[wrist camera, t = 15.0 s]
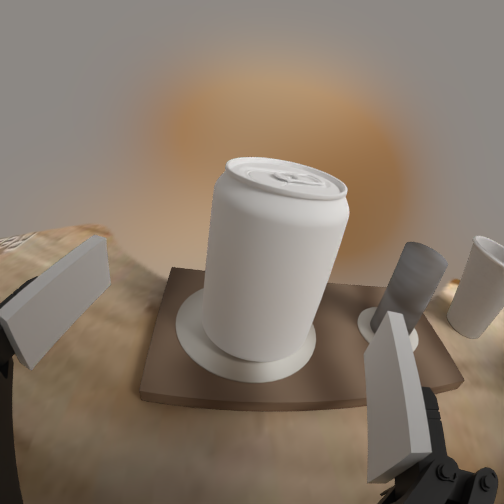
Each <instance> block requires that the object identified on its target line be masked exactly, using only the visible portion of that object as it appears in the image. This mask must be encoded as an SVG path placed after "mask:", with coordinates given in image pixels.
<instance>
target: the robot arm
mask: <svg viewBox="0 0 504 504" xmlns="http://www.w3.org/2000/svg"><path fill="white" fill-rule="evenodd" d="M110 285H111V280H110V272H109V264H108V254H107V243H106V238H104V237H101V236H98V235H93V236H92V237H90V238H89V239H87V240H86V241H85V242H83V243H82V244H80V245H79V246H78V247H76V248H75V249H74V250H72V251H71V252H70V253H68V254H67V255H65V256H64V257H63V258H62V259H60V260H59V261H58V262H56V263H55V264H54V265H52V266H51V267H50V268H49V269H47V270H46V271H45V272H43V273H42V274H41V275H40V276H37V277H34V278H32V279H30V280H28V281H26V282H25V283H24V284H23V285H22V286H20V288H19V289H17V290H16V291H14V292H13V294H11V295H10V296H9V297H7V298H6V299H5V300H4V301H3V302H2V303H0V504H23V500H22V495H21V490H20V485H19V479H18V473H17V466H16V458H15V449H14V437H13V418H12V384H13V364H14V363H13V359H12V356H13V355H14V354H16V356H17V358H18V360H19V362H20V363H21V364H23V365H24V366H25V367H27V368H28V369H29V370H32V369H33V368H34V367H35V366H36V365H37V363H38V362H39V361H40V360H41V359H42V358H43V356H44V355H45V354H46V353H47V352H48V351H49V350H50V348H51V347H52V346H53V345H54V344H55V343H56V342H57V341H58V340H59V338H60V337H61V336H62V335H63V334H64V333H65V332H66V331H67V330H68V329H69V328H70V326H71V325H72V324H73V323H74V322H75V321H76V320H77V319H78V318H79V317H80V316H81V315H82V314H83V313H84V312H85V311H86V310H87V309H88V307H89V306H90V305H91V304H92V303H93V302H94V301H95V300H96V299H97V298H98V297H99V296H100V295H101V294H102V293H103V292H104V291H105V290H106V289H107V288H108V287H109V286H110ZM364 365H365V379H366V396H367V421H368V475H367V483H387V482H389V481H391V480H392V479H394V478H395V485H394V486H393V487H391V488H389V489H387V490H385V491H384V492H383V493H381V494H380V495H381V496H383V495H385V494H386V495H385V496H384V497H383V498H382V499H381V500H380V501H379V503H378V504H494V501H495V497H496V493H497V488H498V478H497V475H496V473H495V472H494V470H492V469H491V468H487V467H485V468H482V469H480V470H479V471H477V472H476V473H472V472H468V471H464V470H460V469H459V468H458V465H457V463H456V462H455V461H454V460H453V459H452V458H450V457H448V456H447V452H446V446H445V439H444V433H443V428H442V422H441V421H440V419H441V417H440V412H438V410H439V407H438V403H437V398H436V396H435V395H434V393H433V391H432V390H431V388H430V387H423V386H421V384H420V379H419V375H418V370H417V366H416V362H415V358H414V354H413V350H412V346H411V342H410V338H409V335H408V331H407V327H406V324H405V320H404V317H403V314H400V313H396V312H391V311H387V313H386V315H385V317H384V318H383V320H382V322H381V324H380V326H379V328H378V330H377V331H376V333H375V335H374V337H373V339H372V340H371V342H370V344H369V346H368V347H367V349H366V351H365V352H364Z"/></svg>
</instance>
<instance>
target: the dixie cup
mask: <svg viewBox="0 0 504 504" xmlns="http://www.w3.org/2000/svg"><path fill="white" fill-rule="evenodd" d="M503 307H504V247H503V246H502V245H500V244H498V243H496V242H495V241H493V240H491V239H488V238H486V237H483V236H475V237H474V238H473V246H472V249H471V252H470V255H469V258H468V261H467V264H466V267H465V269H464V272H463V275H462V278H461V280H460V283H459V286H458V288H457V291H456V293H455V296H454V298H453V301H452V303H451V305H450V308H449V310H448V312H447V319H448V321H449V323H450V324H451V326H452V327H453V328H454V329H455V330H456V331H457V332H459V333H460V334H462V335H463V336H465V337H468V338H472V339H476V338H479V337H480V335H481V334H482V333H483V332H484V331H485V330H486V328H487V327H488V326H489V325H490V324H491V322H492V321H493V320H494V319H495V317H496V316H497V315H498V314H499V312H500V311H501V310H502V308H503Z"/></svg>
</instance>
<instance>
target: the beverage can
mask: <svg viewBox="0 0 504 504" xmlns="http://www.w3.org/2000/svg"><path fill="white" fill-rule="evenodd" d="M225 169H226V171H225V172H224V173H223V174H222V175H221V176H220V177H219V178H218V180H217V182H216V184H215V186H214V194H213V201H212V210H211V219H210V228H209V238H208V248H207V258H206V270H205V280H204V292H203V305H202V325H203V328H204V330H205V332H206V334H207V336H208V337H209V338H210V340H211V341H212V342H213V343H214V344H215V345H216V346H218V347H219V348H220V349H222V350H223V351H225V352H226V353H228V354H230V355H232V356H235V357H237V358H240V359H244V360H248V361H255V362H270V361H276V360H280V359H283V358H286V357H288V356H290V355H292V354H294V353H295V352H296V351H298V350H299V349H300V348H301V346H302V345H303V344H304V342H305V340H306V337H307V335H308V332H309V330H310V327H311V325H312V322H313V320H314V317H315V314H316V312H317V309H318V306H319V304H320V301H321V298H322V296H323V293H324V290H325V287H326V285H327V282H328V279H329V276H330V273H331V270H332V267H333V264H334V261H335V259H336V256H337V253H338V250H339V246H340V243H341V240H342V237H343V234H344V231H345V228H346V224H347V221H348V218H349V206H348V203H347V200H346V197H345V196H346V194H347V187H346V185H345V184H344V183H343V182H341V181H340V180H339V179H337V178H335V177H333V176H331V175H329V174H327V173H325V172H323V171H320V170H317V169H314V168H311V167H308V166H305V165H301V164H297V163H293V162H289V161H283V160H278V159H271V158H260V157H242V158H235V159H232V160H229V161H228V162H227V163H226V167H225Z"/></svg>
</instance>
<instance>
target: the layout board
mask: <svg viewBox="0 0 504 504" xmlns="http://www.w3.org/2000/svg"><path fill="white" fill-rule="evenodd" d="M447 266H448V263H447V261H446V260H445V258H444V257H443V256H442V255H441V254H439V253H438V252H437V251H435V250H433V249H432V248H430V247H428V246H426V245H423V244H420V243H416V242H407V243H406V244H405V247H404V249H403V251H402V254H401V256H400V259H399V261H398V263H397V266H396V268H395V270H394V273H393V275H392V278H391V279H390V282H389V284H388V286H387V287H373V286H372V287H371V286H360V285H347V284H335V283H327V285H326V287H325V290H324V293H323V296H322V298H321V301H320V304H319V306H318V309H317V312H316V314H315V317H314V320H313V322H312V325H311V327H310V330H309V332H308V335H307V337H306V340H305V342H304V344H303V345H302V346H301V348H300V349H299V350H298V351H296V352H295V353H294V354H292V355H290V356H288V357H286V358H283V359H280V360H276V361H270V362H255V361H248V360H244V359H240V358H237V357H235V356H232V355H230V354H228V353H226V352H225V351H223V350H222V349H220V348H219V347H218V346H216V345H215V344H214V343H213V342H212V341H211V340H210V338H209V337H208V336H207V334H206V332H205V330H204V328H203V325H202V305H203V292H204V280H205V271H201V270H193V269H184V268H175V267H172V268H171V271H170V275H169V278H168V281H167V285H166V288H165V292H164V295H163V298H162V302H161V306H160V309H159V313H158V316H157V320H156V324H155V327H154V331H153V335H152V339H151V343H150V347H149V351H148V355H147V359H146V363H145V367H144V371H143V376H142V380H141V384H140V389H139V392H140V396H141V400H144V401H150V402H156V403H163V404H170V405H178V406H186V407H196V408H207V409H220V410H237V411H310V410H327V409H340V408H351V407H360V406H367V396H366V379H365V365H364V352H365V351H366V349H367V347H368V346H369V344H370V342H371V340H372V339H373V337H374V335H375V333H376V331H377V330H378V328H379V326H380V324H381V322H382V320H383V318H384V317H385V315H386V313H387V311H391V312H396V313H400V314H403V317H404V320H405V324H406V327H407V331H408V335H409V338H410V342H411V346H412V350H413V354H414V358H415V362H416V366H417V370H418V375H419V379H420V384H421V386H423V387H430V388H431V390H432V391H433V393H434V394H437V393H441V392H445V391H450V390H454V389H457V388H458V387H459V386H460V385H461V384H462V383H463V382H464V378H463V376H462V375H461V373H460V371H459V370H458V368H457V366H456V364H455V363H454V361H453V359H452V358H451V356H450V354H449V353H448V351H447V350H446V348H445V346H444V345H443V343H442V341H441V340H440V338H439V337H438V335H437V334H436V332H435V331H434V329H433V327H432V326H431V324H430V323H429V321H428V320H427V318H426V317H425V315H424V314H423V312H424V310H425V309H426V307H427V305H428V303H429V301H430V299H431V298H432V296H433V294H434V292H435V290H436V288H437V286H438V284H439V282H440V280H441V278H442V276H443V274H444V272H445V270H446V268H447Z"/></svg>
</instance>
